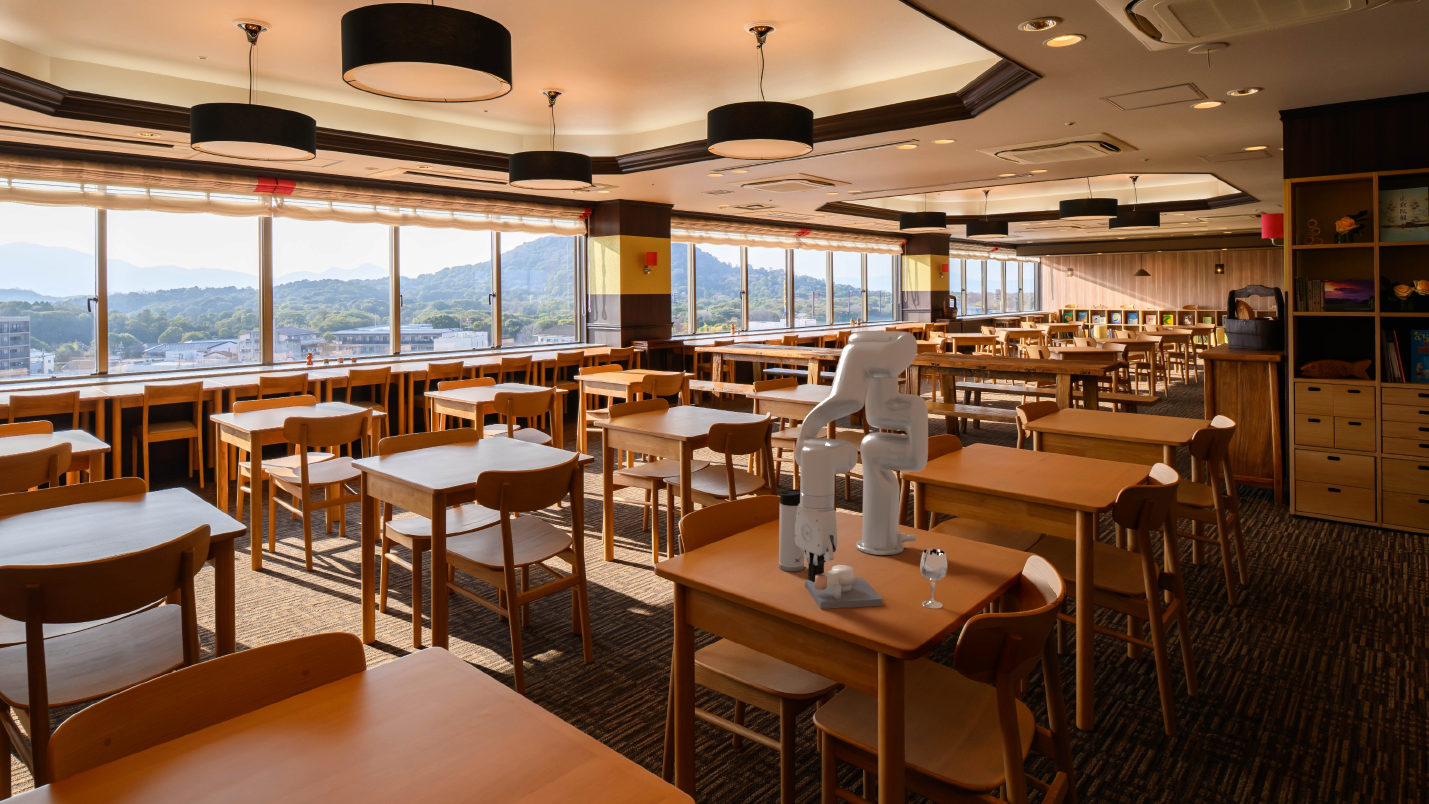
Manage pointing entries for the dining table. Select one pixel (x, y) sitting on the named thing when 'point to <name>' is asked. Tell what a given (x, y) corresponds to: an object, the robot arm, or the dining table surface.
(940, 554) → the wineglass
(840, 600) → the post board
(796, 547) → the travel mug
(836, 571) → the lever cap
